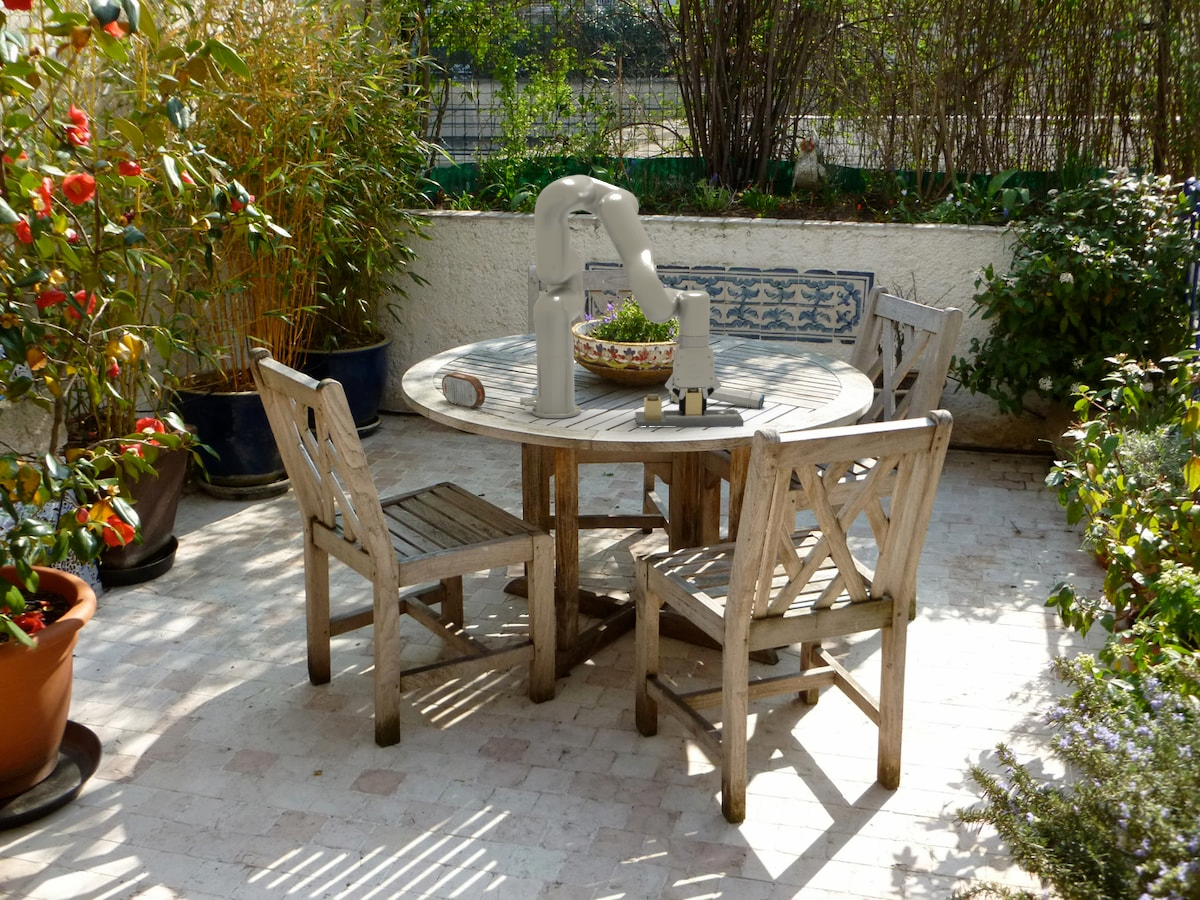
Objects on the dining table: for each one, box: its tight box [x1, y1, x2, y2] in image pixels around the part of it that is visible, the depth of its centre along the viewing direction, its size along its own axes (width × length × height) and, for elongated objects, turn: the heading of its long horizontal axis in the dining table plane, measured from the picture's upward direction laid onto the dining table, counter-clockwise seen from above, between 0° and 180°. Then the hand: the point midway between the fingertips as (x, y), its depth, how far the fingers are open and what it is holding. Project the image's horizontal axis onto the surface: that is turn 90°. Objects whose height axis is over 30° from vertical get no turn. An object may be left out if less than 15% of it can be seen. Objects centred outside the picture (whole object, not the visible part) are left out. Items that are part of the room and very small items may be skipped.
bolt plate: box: [634, 408, 745, 428], centre depth 295 cm, size 26×10×2 cm, turn 93°
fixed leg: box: [643, 393, 663, 419], centre depth 294 cm, size 4×4×6 cm
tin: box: [441, 371, 486, 409], centre depth 312 cm, size 15×3×8 cm, turn 47°
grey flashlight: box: [668, 384, 765, 409], centre depth 312 cm, size 5×7×25 cm
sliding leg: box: [684, 388, 702, 415], centre depth 294 cm, size 4×4×7 cm
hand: (692, 412), depth 295 cm, fingers closed on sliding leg, 4 cm apart
